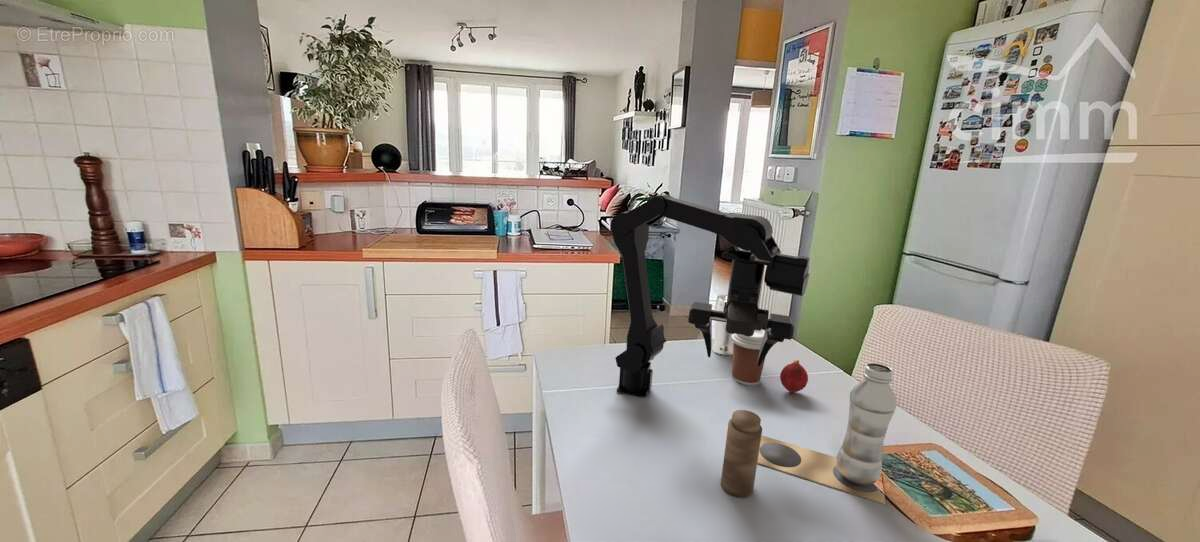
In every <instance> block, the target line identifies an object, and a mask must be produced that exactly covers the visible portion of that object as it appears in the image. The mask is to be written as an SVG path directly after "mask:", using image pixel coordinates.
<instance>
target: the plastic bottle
mask: <svg viewBox="0 0 1200 542" xmlns="http://www.w3.org/2000/svg"><path fill="white" fill-rule="evenodd" d="M863 377H864V378H863V379H862V380H860V381H859V382H858V383H857V384H855V385H854V386H853V388H852V390H851V391H850V392H849V410H848V411H849V413H848V421H847V427H846V431H845V435H844V438H843V441H842V443H841V446H840V447H839V450H838V453H837V454H836V455H837V456H835V457H836V466H837V469H838V471H839V473H840V474H841V476H842V477H844V478H845V479H846V480H848V481H850V482H852V483H855V484H858V485H871V484H873V483H875V482H876V481H877V480H878V479H879V477H880V475H881V472H882V473H883V471H882V470H883V450H884V449H883V448H884V441H885V438H886V434H887V430H888V428H889V426H890V423H891V420H892V419H893V416H894V414H895V411H896V409H897V406H898V401H897V396H896V394H895V392H894V391H893V389H892V387H891V385H890V384H891V383H892V381H893V378H892V377H893V369H892V368H891V367H890V366H887V365H885V364H882V363H876V362H868V363H866V365H865V370H864V372H863Z"/></svg>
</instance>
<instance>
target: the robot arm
mask: <svg viewBox="0 0 1200 542" xmlns="http://www.w3.org/2000/svg"><path fill="white" fill-rule="evenodd" d="M662 218H666V219H671V220H673V221H676V222H679V223H683V224H685V225H689V226H692V227H695V228H698V229H701V230H705V231H707V232H710V233H713V234H716V235H717V236H719V237H720V238H722V239H723V240H724V241H726V242H727V243H728V244H731V246H730V247H729V249H728V250H726V251H725V252H723V253H722V254H721V257H722V258H725V259H729V260H732V264H731V269H730V275H729V282H728V283H729V284H728V288H727V289H728V290H727V295H728V296H727V303H726V308H725V312H722V311H715V309H713V304H712V303H704V302H698V301H694V302H693V303H692V304H691V306H690V308H689V314H688V319H687V323H689V324H691V325H694V328H695V329H699V330H700V332H701V333H702V336H703V338H704V339H703V340H704V345H705V349H706V353H707V358H711V357H712V356H711V353H712V346H713V344H712V343H713V342H712V339H713V338H712V337H713V336H712V335H713V332H712V331H713V329H712V328H713V321H714V320H715V321H721V322H726V331H727V332H728V333H730V334H741V335H745V336H748V337H750V336H753V334H754V330H760V331H761V330H763V331H765V333H764V337H763V340H762V344H761V347H760V351H759V355H758V361H757V366H760V365H761V363H762V361H763V360H764V358H765V359H766V357H767V354H768V353H769V351H770V350H771V348H772V347H774V346H775V344H777V343H783V342H784V341H785V340H788V341H789V340H793V335H794V332H795V331H794V329H795V326H794V323H793V320H792V318H791V317H790V315H783V314H778V313H772V312H771V313H770V311H769V310H768V309H762V308H759V302H760V295H761V290H762V285H763V283H764V284H766V285H765V286H766V287H768V288H769V290H770V291H774V292H779V293H783V294H789V295H792V296H793V295H795V296H799V297H804V295H805V293H806V290H807V286H808V283H809V277H810V273H809V270H810V264H809V263H810V257H808V256H801V255H800V256H799V255H798V256H795V255H790V254H789V255H788V254H782V251H781V249H780V247H779V245H778V243H777V242H776V240H775V239H774V237H773V226H772V224H771V222H770V221H769V220H768V218H765V217H764V216H761V215H753V214H745V213H729V212H723V211H720V210H716V209H713V208H710V207H706V206H703V205H699V204H696V203H693V202H689V201H686V200H683V199H679V198H677V197H673V196H671V195H670V194H658V195H655V196H653V197H652V198H651V199H648V200H647V202H645V203H642V204H640V205H638V206H637V207H635V208H632V209H630V210H629V211H624V212H618V213H617V214H616V215H614V216H613V218H612V219H611V220H610V225H609V227H610V233H611V236H612V240H613V243H614V245H615V247H616V248H617V250H618V252H619V254H621V256H622V263H623V264H622V265H623V272H624V278H625V287H626V295H627V303H628V304H627V305H628V310H629V318H630V323H629V327H628V330H627V334H626V349H625V350H624V351H623V352H621V353H620V354H619V355H616V357H615V358H614V359H615V362H616V367H618V368H619V377H618V386H617V388H616V392H617V393H621V394H625V395H631V396H636V397H642V398H645V397H646V396H647V395H648V393H649V392H650V390H651V388H652V384H653V373H654V371H653V369H651V368H652V367H651V366H652V362H651V361H652V360H654V359H655V357H656V356H658V355H659V354H660V353H661V352H662V351H663V349H664V346H665V345H664V344H665V343H666V342H667V340H666V339H665V334H664V333H665V331H664V330H665V327H664V324H658V323H657V322H656V320H655V319H654V316H653V309H652V302H651V294H650V293H651V291H650V286H649V284H650V283H649V277H648V269H647V260H646V250H647V245H648V242H649V239H650V238H649V235H650V233H649V231H650V227H651V226H653V225H654V224H656V223H657V222H659V221H660V220H661V219H662ZM765 266H766V269H765ZM763 279H764V281H763ZM769 314H770V315H769ZM765 356H766V357H765Z"/></svg>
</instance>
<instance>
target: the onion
mask: <svg viewBox="0 0 1200 542" xmlns="http://www.w3.org/2000/svg"><path fill="white" fill-rule="evenodd" d="M779 379H780V380H779V381H781V382H780V383H781V385H782V386H783V388H784V389H785V390H787V391H788V392H789V393H791V394H793V393H797V392H800V391H801V390H803V389H804V388H806V386H807V384H808V381H809V375H808V372H807V371H806V369H805V368H804V366H803V365H801V364H800V360H799V359H794V360H793V362H792V363H789V364H786V365H785V366H784V367H783V368H782V369H781V371H780V375H779Z"/></svg>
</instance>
